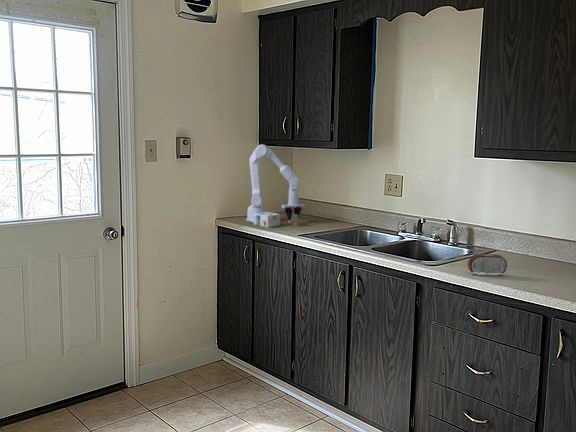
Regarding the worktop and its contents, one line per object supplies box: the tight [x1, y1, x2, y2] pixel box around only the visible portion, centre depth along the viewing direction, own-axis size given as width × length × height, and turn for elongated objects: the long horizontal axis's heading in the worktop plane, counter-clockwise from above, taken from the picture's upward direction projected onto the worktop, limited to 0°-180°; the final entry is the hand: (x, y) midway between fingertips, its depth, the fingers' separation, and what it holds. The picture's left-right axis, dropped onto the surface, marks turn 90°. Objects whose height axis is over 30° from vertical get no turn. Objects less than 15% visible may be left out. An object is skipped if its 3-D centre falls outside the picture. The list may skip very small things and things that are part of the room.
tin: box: [467, 253, 508, 274], centre depth 237 cm, size 15×3×8 cm, turn 93°
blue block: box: [287, 212, 299, 223], centre depth 346 cm, size 4×4×5 cm
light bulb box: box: [253, 211, 281, 229], centre depth 334 cm, size 11×7×11 cm
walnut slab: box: [289, 218, 308, 227], centre depth 339 cm, size 7×7×3 cm
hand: (292, 220), depth 346 cm, fingers closed on blue block, 4 cm apart
